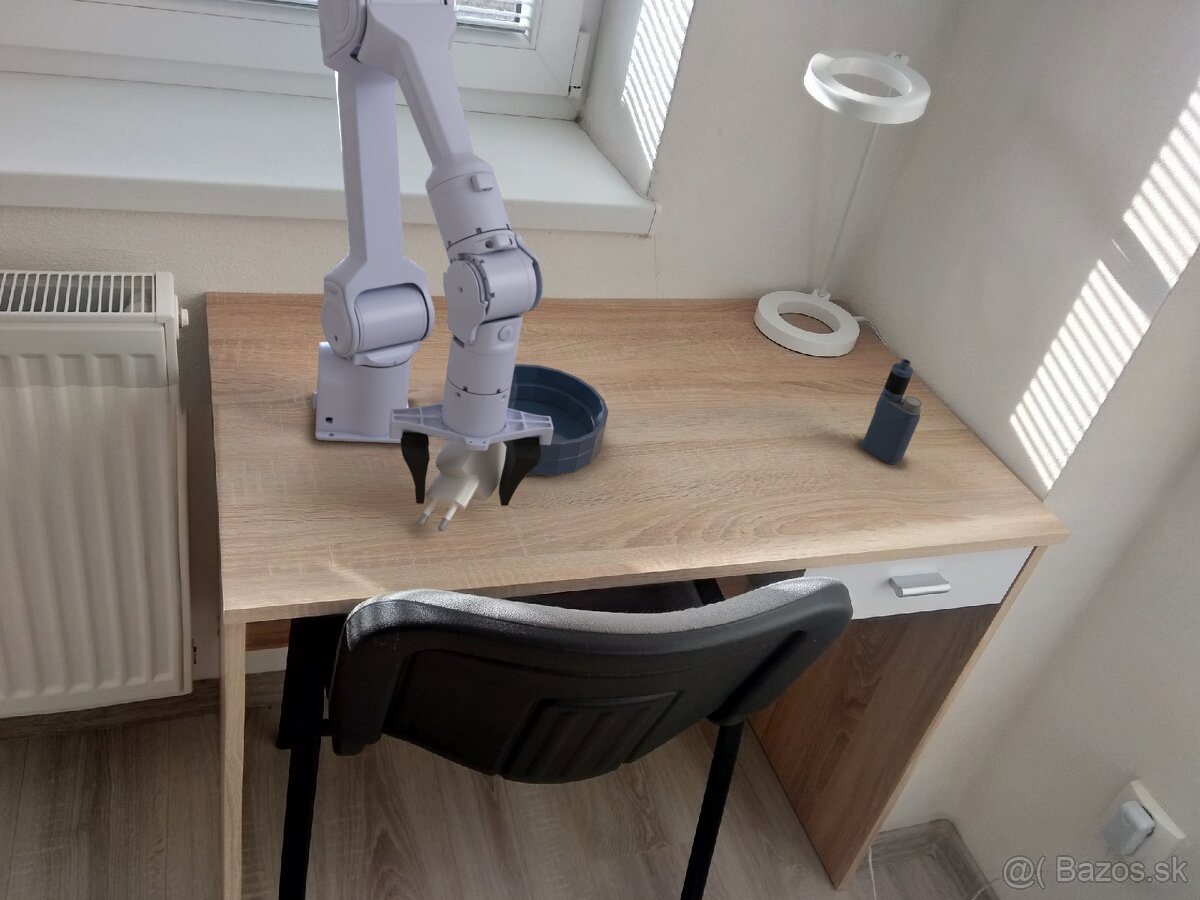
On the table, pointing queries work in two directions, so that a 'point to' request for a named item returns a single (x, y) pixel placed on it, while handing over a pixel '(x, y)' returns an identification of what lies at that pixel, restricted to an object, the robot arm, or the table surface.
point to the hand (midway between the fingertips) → (461, 498)
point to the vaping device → (893, 417)
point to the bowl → (561, 416)
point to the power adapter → (463, 478)
